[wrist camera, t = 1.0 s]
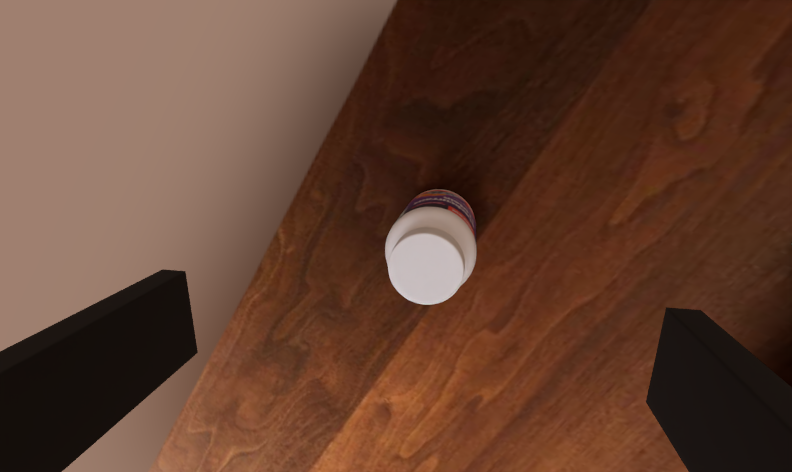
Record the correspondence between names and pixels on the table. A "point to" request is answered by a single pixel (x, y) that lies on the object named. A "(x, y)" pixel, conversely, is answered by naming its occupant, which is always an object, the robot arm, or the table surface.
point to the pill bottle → (432, 247)
